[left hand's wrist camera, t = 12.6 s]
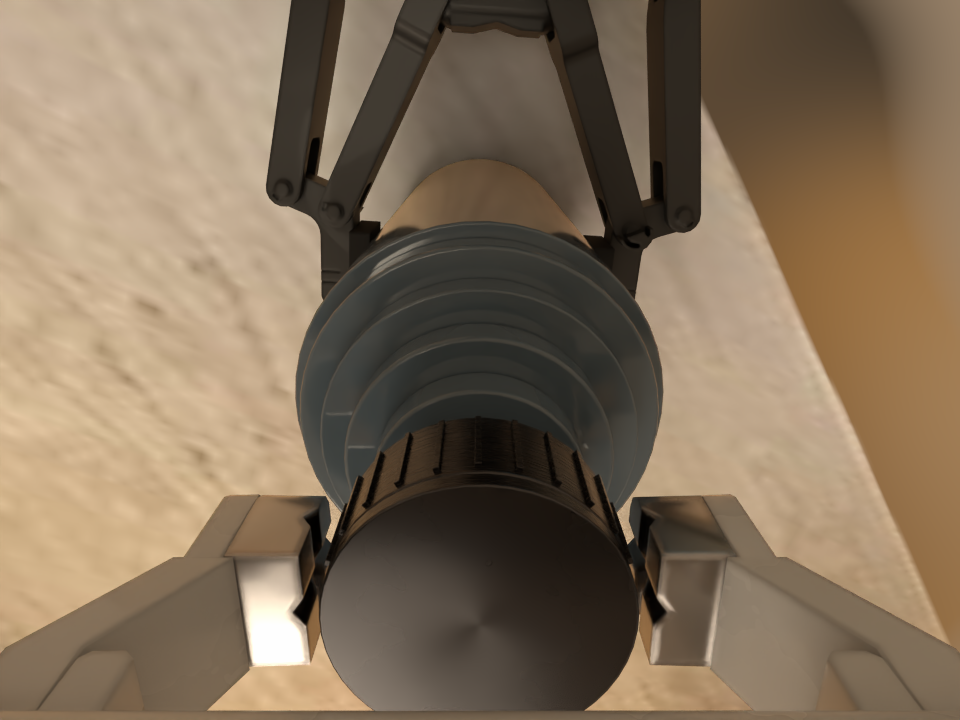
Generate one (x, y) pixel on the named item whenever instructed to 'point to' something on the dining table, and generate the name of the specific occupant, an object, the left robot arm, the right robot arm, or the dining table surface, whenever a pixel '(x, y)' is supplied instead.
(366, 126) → the right robot arm
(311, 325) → the bottle
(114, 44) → the dining table surface
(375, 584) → the cap
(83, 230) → the dining table surface
